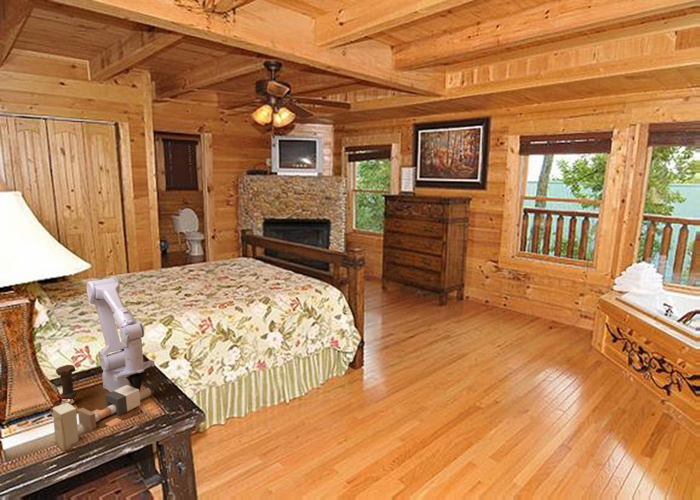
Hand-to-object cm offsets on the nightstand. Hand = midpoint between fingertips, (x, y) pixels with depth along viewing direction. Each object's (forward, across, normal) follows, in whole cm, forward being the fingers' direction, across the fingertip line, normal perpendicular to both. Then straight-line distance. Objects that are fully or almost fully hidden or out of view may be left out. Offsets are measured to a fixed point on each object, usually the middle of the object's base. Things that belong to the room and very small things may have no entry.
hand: (136, 391), depth 150 cm
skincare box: (+5, -25, -3) cm, 26 cm away
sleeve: (+4, -4, 0) cm, 5 cm away
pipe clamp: (+5, -7, 0) cm, 9 cm away
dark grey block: (+4, -8, 0) cm, 9 cm away
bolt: (+5, -13, +19) cm, 24 cm away
